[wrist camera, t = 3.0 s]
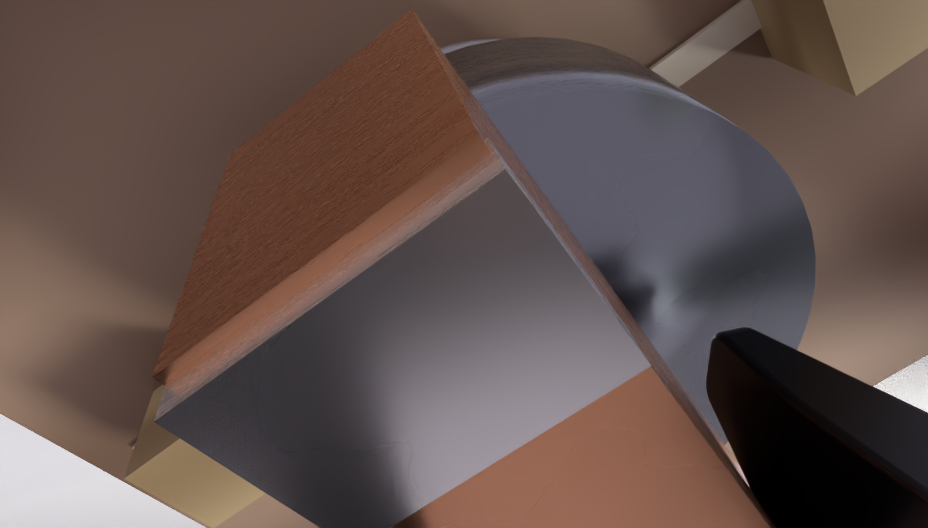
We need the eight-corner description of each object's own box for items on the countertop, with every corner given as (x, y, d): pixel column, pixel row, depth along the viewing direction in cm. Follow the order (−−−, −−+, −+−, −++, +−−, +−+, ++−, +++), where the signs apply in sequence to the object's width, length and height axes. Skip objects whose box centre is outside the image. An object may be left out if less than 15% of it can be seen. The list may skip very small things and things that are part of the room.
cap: (799, 316, 12) (1114, 624, 7) (489, 503, 13) (579, 872, 8) (559, -167, 7) (1005, -220, 2) (118, 195, 9) (-156, 625, 4)
